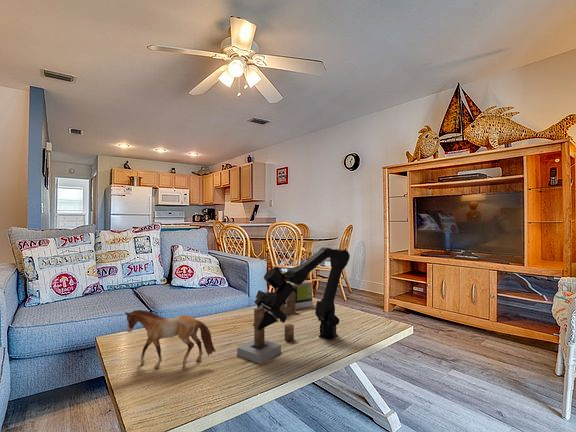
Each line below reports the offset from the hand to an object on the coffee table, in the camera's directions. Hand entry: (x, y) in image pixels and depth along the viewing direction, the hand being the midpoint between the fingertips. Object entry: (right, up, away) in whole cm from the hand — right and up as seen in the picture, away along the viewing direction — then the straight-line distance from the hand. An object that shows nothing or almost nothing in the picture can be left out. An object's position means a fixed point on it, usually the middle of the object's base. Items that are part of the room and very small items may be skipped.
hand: (256, 327), depth 117 cm
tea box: (+18, -11, +64) cm, 68 cm away
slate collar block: (+1, -10, +1) cm, 10 cm away
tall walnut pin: (+1, -7, +1) cm, 7 cm away
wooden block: (+11, -11, +51) cm, 53 cm away
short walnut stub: (+13, -10, +14) cm, 22 cm away
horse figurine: (-29, -11, -11) cm, 32 cm away
